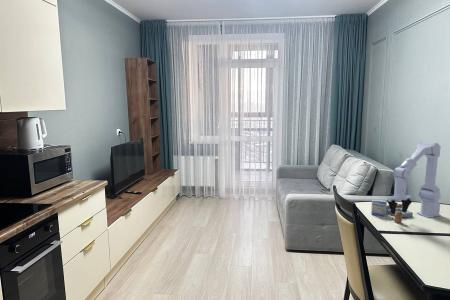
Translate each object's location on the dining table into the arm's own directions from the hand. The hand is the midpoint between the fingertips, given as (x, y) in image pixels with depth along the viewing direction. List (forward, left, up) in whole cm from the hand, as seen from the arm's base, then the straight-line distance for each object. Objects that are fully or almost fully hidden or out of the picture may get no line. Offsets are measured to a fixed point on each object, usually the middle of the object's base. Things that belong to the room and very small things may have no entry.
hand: (398, 212), depth 177 cm
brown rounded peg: (0, 0, -6) cm, 6 cm away
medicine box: (+1, -14, -6) cm, 15 cm away
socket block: (-10, -10, -6) cm, 15 cm away
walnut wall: (-10, -16, -6) cm, 20 cm away
